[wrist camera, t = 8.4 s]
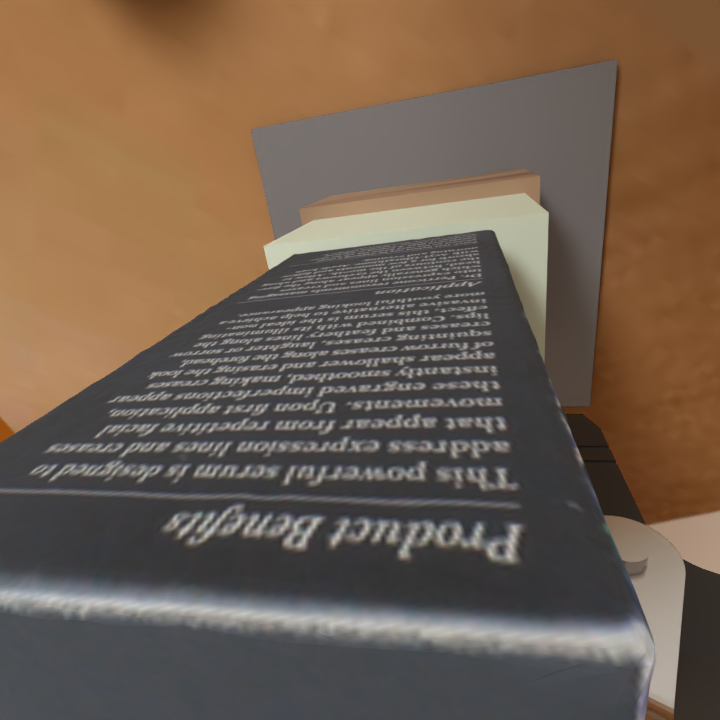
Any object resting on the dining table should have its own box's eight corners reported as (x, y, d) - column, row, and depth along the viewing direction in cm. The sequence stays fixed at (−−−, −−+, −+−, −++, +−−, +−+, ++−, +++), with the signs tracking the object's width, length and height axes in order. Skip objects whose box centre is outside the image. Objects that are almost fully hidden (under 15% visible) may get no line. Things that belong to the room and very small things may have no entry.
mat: (254, 129, 22) (250, 129, 21) (614, 61, 18) (617, 59, 17) (315, 407, 28) (313, 410, 28) (588, 402, 24) (590, 406, 24)
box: (509, 474, 14) (598, 1125, 5) (339, 473, 15) (154, 970, 6) (500, 220, 11) (721, 704, 2) (287, 249, 12) (-257, 589, 3)
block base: (331, 195, 22) (299, 208, 18) (523, 168, 20) (540, 175, 15) (358, 358, 26) (336, 403, 21) (522, 350, 23) (535, 399, 19)
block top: (313, 220, 18) (263, 246, 13) (525, 192, 16) (548, 212, 11) (345, 393, 21) (313, 460, 17) (523, 389, 19) (541, 463, 15)
